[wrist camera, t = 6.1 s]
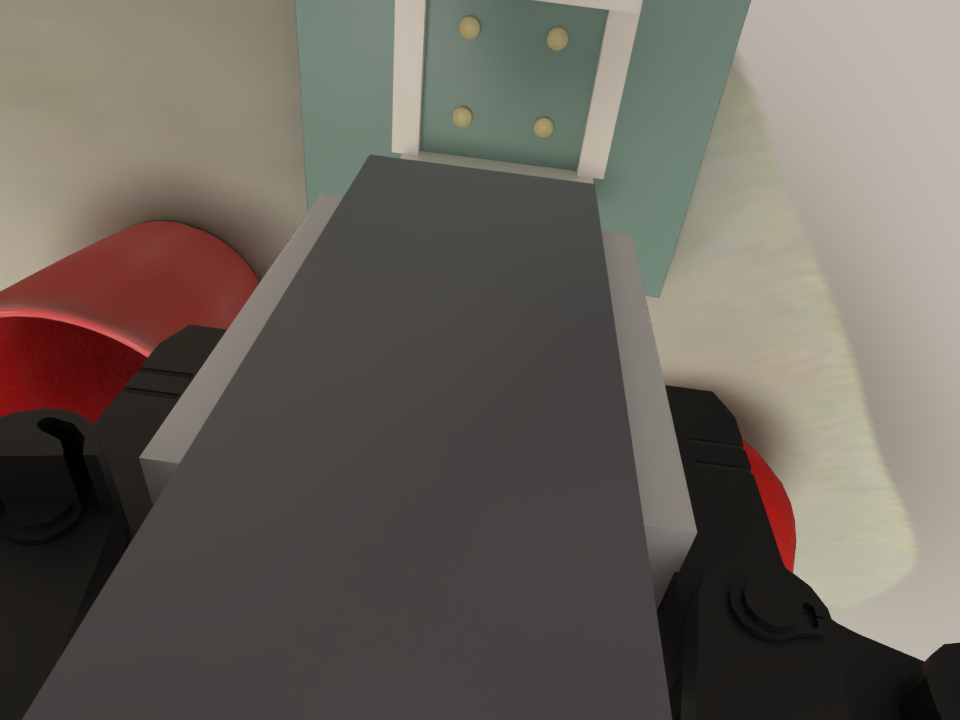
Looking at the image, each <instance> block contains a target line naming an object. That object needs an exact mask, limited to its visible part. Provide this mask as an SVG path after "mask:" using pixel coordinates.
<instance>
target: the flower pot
mask: <svg viewBox="0 0 960 720" xmlns="http://www.w3.org/2000/svg"><path fill="white" fill-rule="evenodd" d="M258 285H259V281H258V279H257V277H256V275H255V274H254V272H253V271H252V269H251V268H250V267H249V265H248V264H247V263H246V262H245V260H244V259H243V258H242V257H241V256H240V255H239V254H238V253H237V252H236V251H235V250H233V249H232V248H231V247H230V246H228V245H227V244H226V243H224V242H223V241H221V240H220V239H218V238H216V237H215V236H213V235H211V234H209V233H207V232H204V231H202V230H199V229H195V228H193V227H190V226H188V225H186V224H182V223H177V222H170V221H151V222H144V223H140V224H136V225H133V226H131V227H129V228H126V229H124V230H122V231H120V232H118V233H116V234H113V235H111V236H109V237H107V238H105V239H103V240H100V241H98V242H96V243H94V244H92V245H90V246H88V247H86V248H84V249H82V250H80V251H78V252H76V253H74V254H72V255H70V256H68V257H66V258H64V259H62V260H60V261H58V262H56V263H54V264H52V265H50V266H48V267H46V268H44V269H42V270H40V271H38V272H36V273H35V274H33V275H31V276H29V277H27V278H25V279H23V280H21V281H19V282H18V283H16V284H14V285H12V286H10V287H8V288H6V289H4V290H3V291H1V292H0V417H3V416H6V415H9V414H12V413H15V412H19V411H28V410H37V409H45V408H49V409H57V410H64V411H72V412H75V413H77V414H78V415H80V416H82V417H84V418H86V419H88V420H90V421H91V422H92V423H93V424H94V423H95V422H96V421H97V419H98V418H99V417H100V416H101V414H102V413H103V412H104V411H105V410H106V408H107V407H108V406H109V405H110V403H111V402H112V401H113V400H114V398H115V397H116V396H117V395H118V394H119V392H123V391H124V386H125V385H126V384H127V382H128V381H129V380H130V379H131V378H132V376H133V375H134V374H135V373H136V372H139V371H140V366H141V365H142V364H143V363H144V362H145V360H146V359H147V358H148V357H149V355H150V354H151V353H152V352H153V350H154V349H155V348H156V347H157V346H158V344H159V343H160V342H162V341H164V340H165V339H167V338H169V337H170V336H172V335H174V334H175V333H177V332H179V331H180V330H182V329H184V328H185V327H187V326H189V325H197V326H205V327H213V328H220V329H228V328H229V327H230V325H231V324H232V322H233V321H234V319H235V318H236V316H237V315H238V314H239V312H240V311H241V309H242V308H243V306H244V305H245V303H246V302H247V300H248V299H249V298H250V296H251V295H252V293H253V292H254V290H255V289H256V287H257V286H258Z"/></svg>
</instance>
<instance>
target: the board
mask: <svg viewBox="0 0 960 720" xmlns="http://www.w3.org/2000/svg"><path fill="white" fill-rule="evenodd" d="M750 2H751V0H295V5H296V22H297V39H298V56H299V74H300V91H301V108H302V125H303V142H304V159H305V177H306V194H307V211H308V212H309V211H310V209H311V208H312V206H313V205H314V203H315V202H316V200H317V199H318V198H319V196H320V195H321V194H328V195H335V196H343V197H344V195H345V194H346V192H347V190H348V189H349V187H350V185H351V184H352V182H353V181H354V179H355V177H356V176H357V174H358V172H359V171H360V169H361V168H362V166H363V164H364V163H365V161H366V159H367V158H368V156H369V155H370V154H371V155H378V156H386V157H393V158H401V159H409V160H416V161H424V162H431V163H439V164H447V165H454V166H462V167H469V168H477V169H485V170H492V171H500V172H508V173H515V174H523V175H530V176H538V177H546V178H553V179H561V180H568V181H576V182H584V183H591V184H595V190H596V197H597V203H598V210H599V217H600V224H601V231H608V232H616V233H623V234H631V235H632V239H633V243H634V248H635V252H636V257H637V261H638V266H639V270H640V275H641V280H642V284H643V289H644V293H645V296H651V297H660V294H661V291H662V288H663V284H664V281H665V278H666V275H667V271H668V268H669V265H670V262H671V258H672V255H673V252H674V249H675V245H676V242H677V239H678V236H679V232H680V229H681V226H682V223H683V219H684V216H685V213H686V210H687V206H688V203H689V200H690V197H691V193H692V190H693V187H694V184H695V180H696V177H697V174H698V171H699V167H700V164H701V161H702V158H703V154H704V151H705V148H706V145H707V141H708V138H709V135H710V132H711V128H712V125H713V122H714V119H715V115H716V112H717V109H718V106H719V102H720V99H721V96H722V93H723V90H724V86H725V83H726V80H727V77H728V73H729V70H730V67H731V64H732V60H733V57H734V54H735V51H736V47H737V44H738V41H739V38H740V34H741V31H742V28H743V25H744V21H745V18H746V15H747V12H748V8H749V5H750Z"/></svg>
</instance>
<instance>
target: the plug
mask: <svg viewBox="0 0 960 720" xmlns="http://www.w3.org/2000/svg"><path fill="white" fill-rule="evenodd" d="M22 720H672V715H671V708H670V701H669V694H668V687H667V680H666V673H665V666H664V659H663V652H662V646H661V639H660V632H659V625H658V618H657V611H656V604H655V597H654V590H653V583H652V576H651V570H650V563H649V556H648V549H647V542H646V535H645V528H644V521H643V514H642V507H641V500H640V494H639V487H638V480H637V473H636V466H635V459H634V452H633V445H632V438H631V431H630V424H629V418H628V411H627V404H626V397H625V390H624V383H623V376H622V369H621V362H620V355H619V348H618V342H617V335H616V328H615V321H614V314H613V307H612V300H611V293H610V286H609V279H608V273H607V266H606V259H605V252H604V245H603V238H602V231H601V224H600V217H599V210H598V203H597V197H596V190H595V184H591V183H584V182H576V181H568V180H561V179H553V178H546V177H538V176H530V175H523V174H515V173H508V172H500V171H492V170H485V169H477V168H469V167H462V166H454V165H447V164H439V163H431V162H424V161H416V160H409V159H401V158H393V157H386V156H378V155H371V154H370V155H369V156H368V158H367V159H366V161H365V163H364V164H363V166H362V168H361V169H360V171H359V172H358V174H357V176H356V177H355V179H354V181H353V182H352V184H351V185H350V187H349V189H348V190H347V192H346V194H345V195H344V197H343V198H342V200H341V202H340V203H339V205H338V207H337V208H336V210H335V211H334V213H333V215H332V216H331V218H330V220H329V221H328V223H327V224H326V226H325V228H324V229H323V231H322V233H321V234H320V236H319V237H318V239H317V241H316V242H315V244H314V246H313V247H312V249H311V250H310V252H309V254H308V255H307V257H306V259H305V260H304V262H303V263H302V265H301V267H300V268H299V270H298V272H297V273H296V275H295V276H294V278H293V280H292V281H291V283H290V285H289V286H288V288H287V289H286V291H285V293H284V294H283V296H282V298H281V299H280V301H279V302H278V304H277V306H276V307H275V309H274V311H273V312H272V314H271V315H270V317H269V319H268V320H267V322H266V324H265V325H264V327H263V328H262V330H261V332H260V333H259V335H258V337H257V338H256V340H255V341H254V343H253V345H252V346H251V348H250V350H249V351H248V353H247V354H246V356H245V358H244V359H243V361H242V363H241V364H240V366H239V367H238V369H237V371H236V372H235V374H234V376H233V377H232V379H231V380H230V382H229V384H228V385H227V387H226V389H225V390H224V392H223V393H222V395H221V397H220V398H219V400H218V402H217V403H216V405H215V407H214V408H213V410H212V411H211V413H210V415H209V416H208V418H207V420H206V421H205V423H204V424H203V426H202V428H201V429H200V431H199V433H198V434H197V436H196V437H195V439H194V441H193V442H192V444H191V446H190V447H189V449H188V450H187V452H186V454H185V455H184V457H183V459H182V460H181V462H180V463H179V465H178V467H177V468H176V470H175V472H174V473H173V475H172V476H171V478H170V480H169V481H168V483H167V485H166V486H165V488H164V489H163V491H162V493H161V494H160V496H159V498H158V499H157V501H156V502H155V504H154V506H153V507H152V509H151V511H150V512H149V514H148V515H147V517H146V519H145V520H144V522H143V524H142V525H141V527H140V528H139V530H138V532H137V533H136V535H135V537H134V538H133V540H132V541H131V543H130V545H129V546H128V548H127V550H126V551H125V553H124V554H123V556H122V558H121V559H120V561H119V563H118V564H117V566H116V567H115V569H114V571H113V572H112V574H111V576H110V577H109V579H108V580H107V582H106V584H105V585H104V587H103V589H102V590H101V592H100V593H99V595H98V597H97V598H96V600H95V602H94V603H93V605H92V606H91V608H90V610H89V611H88V613H87V615H86V616H85V618H84V619H83V621H82V623H81V624H80V626H79V628H78V629H77V631H76V632H75V634H74V636H73V637H72V639H71V641H70V642H69V644H68V645H67V647H66V649H65V650H64V652H63V654H62V655H61V657H60V658H59V660H58V662H57V663H56V665H55V667H54V668H53V670H52V671H51V673H50V675H49V676H48V678H47V680H46V681H45V683H44V684H43V686H42V688H41V689H40V691H39V693H38V694H37V696H36V698H35V699H34V701H33V702H32V704H31V706H30V707H29V709H28V711H27V712H26V714H25V715H24V717H23V719H22Z"/></svg>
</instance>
